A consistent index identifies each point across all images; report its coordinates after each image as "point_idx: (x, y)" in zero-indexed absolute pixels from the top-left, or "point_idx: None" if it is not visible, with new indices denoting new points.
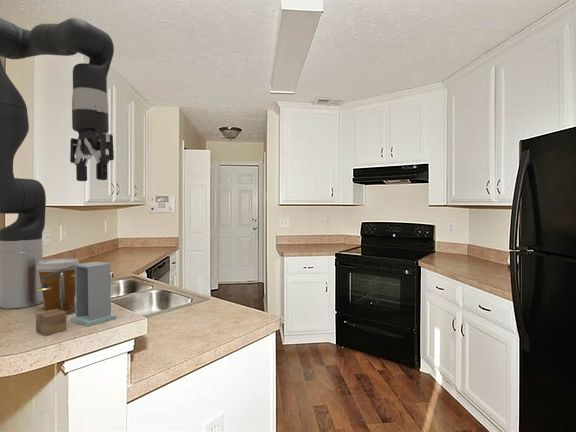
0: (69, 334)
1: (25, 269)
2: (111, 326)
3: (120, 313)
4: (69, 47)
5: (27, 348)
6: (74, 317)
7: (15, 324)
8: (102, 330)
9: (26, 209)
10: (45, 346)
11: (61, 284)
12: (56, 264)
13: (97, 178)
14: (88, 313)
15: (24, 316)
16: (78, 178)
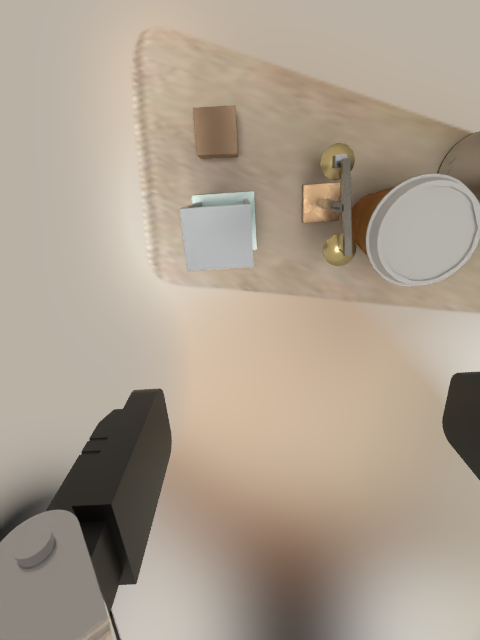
0: (172, 151)
1: None
2: (159, 222)
3: (222, 273)
4: None
5: (152, 64)
6: (246, 195)
7: (325, 105)
8: (149, 201)
9: None
10: (138, 92)
11: (332, 203)
12: (386, 209)
13: (145, 389)
14: (199, 202)
15: (369, 141)
16: (465, 380)
